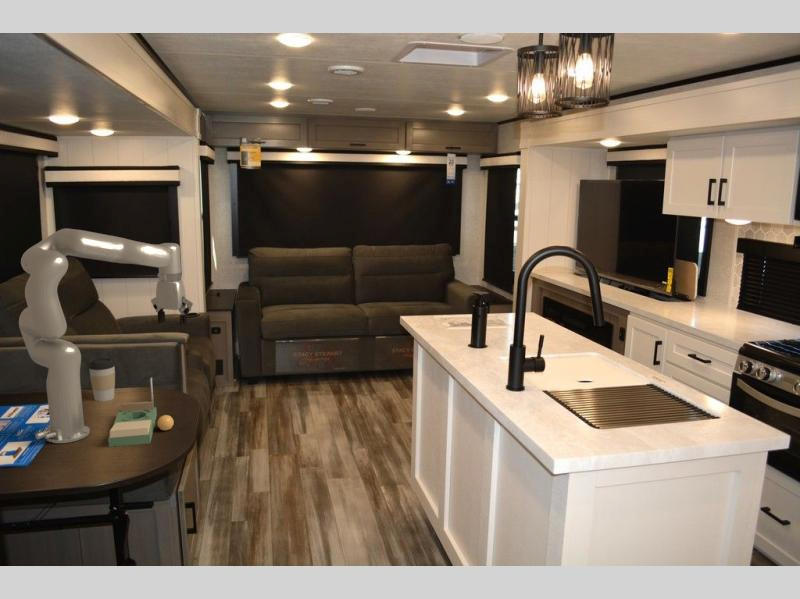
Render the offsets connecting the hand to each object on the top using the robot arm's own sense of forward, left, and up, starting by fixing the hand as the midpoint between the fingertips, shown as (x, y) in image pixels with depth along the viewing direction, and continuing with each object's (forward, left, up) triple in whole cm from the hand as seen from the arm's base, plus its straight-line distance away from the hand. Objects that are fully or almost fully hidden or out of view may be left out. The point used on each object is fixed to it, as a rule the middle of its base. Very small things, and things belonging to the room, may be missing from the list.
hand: (172, 323), depth 234 cm
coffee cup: (-14, +23, -29) cm, 40 cm away
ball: (-22, -19, -27) cm, 40 cm away
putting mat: (-28, -11, -29) cm, 42 cm away
